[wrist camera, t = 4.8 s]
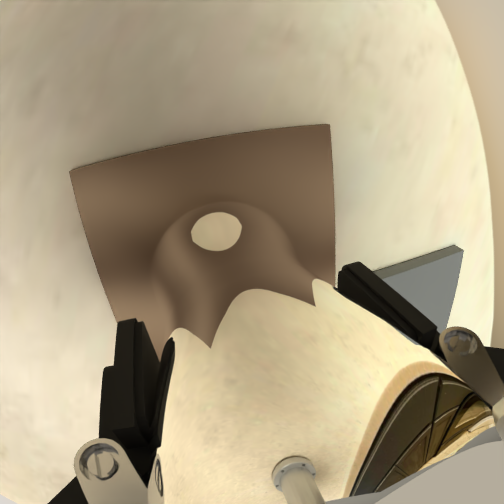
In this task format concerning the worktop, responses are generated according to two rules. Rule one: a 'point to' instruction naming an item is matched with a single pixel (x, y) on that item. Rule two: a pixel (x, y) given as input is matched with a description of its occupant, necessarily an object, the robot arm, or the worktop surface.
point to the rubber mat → (428, 282)
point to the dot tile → (202, 193)
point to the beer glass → (299, 384)
